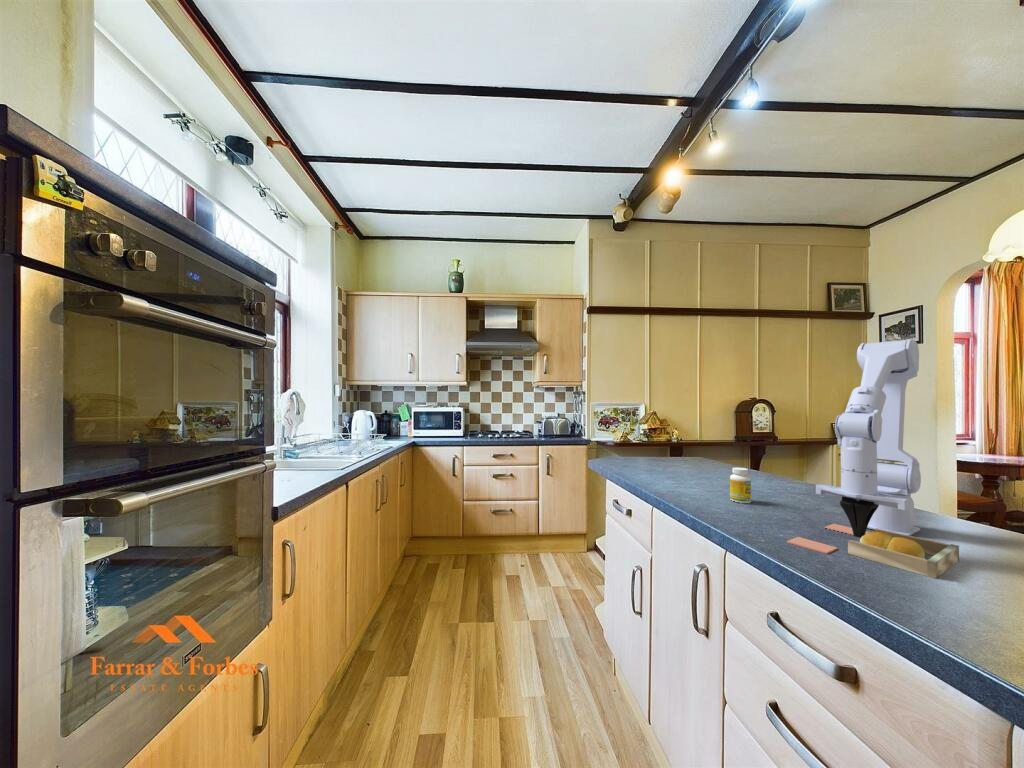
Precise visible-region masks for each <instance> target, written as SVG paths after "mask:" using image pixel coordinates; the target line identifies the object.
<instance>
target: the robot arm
mask: <svg viewBox="0 0 1024 768" xmlns="http://www.w3.org/2000/svg"><path fill="white" fill-rule="evenodd" d="M856 360H857V364H858V365H859V367H860V369H861V371H862V372H863V373H862V376H861V381H860V386H857V387H855V388H853V390H852V391H851V393H850V395H849V399H848V402H847V405H846V407H845V411H844V412H842V414H838V415H837V416H836V418H835V425H834V429H835V435H836V438H837V446H838V447H839V448H840V486H837V485H836V486H835V485H834V486H833V485H827V484H821V483H819V484H816V485H815V494H816V495H826V496H830V497H836V498H840V499H841V501H839V505H840V507H841V508H842V511H843V512H844V513H845V515H846V517H847V519H848V522H849V524H850V528H852V530H853V535H852V536H853V537H855V538H860V539H861V537H862V536H863V535H865V533H866V531H867V530H868V529H869V530H873V531H875V529H876V528H878V529H882V530H886V531H891V532H895V533H900V534H904V535H909V536H912V535H914V534H916V533H917V532H919V531H921V528H920V527H917V526H915V503H914V500H913V497H911V495H913V494H916V493H917V492H919V491H920V489H921V488H920V487H921V483H922V475H921V470H920V462H919V460H918V459H917V458H916V457H915V456H913V455H911V454H910V453H909V452H906V451H905V450H904V435H905V434H904V432H905V431H904V430H905V409H906V407H905V406H906V389H907V385H908V381H909V380H911V379H914V378H916V377H918V372H919V367H920V349H919V345H918V342H917V341H916V340H914V338H913V339H912V338H910V339H909V338H908V339H905V340H904V339H903V340H892V341H881V342H862V343H860V344H859V346H858V347H857V351H856ZM882 461H883V462H882Z"/></svg>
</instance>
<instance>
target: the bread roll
mask: <svg viewBox="0 0 1024 768" xmlns="http://www.w3.org/2000/svg"><path fill="white" fill-rule="evenodd" d="M867 532H868V533H866V534H865V535H863V536H862V537H861V538H860V539H859V542H860V543H864V544H868V545H872V546H876V547H880V548H884V549H887V550H891V551H895V552H899V553H903V554H907V555H911V556H915V557H919V558H923V559H926V558H925V557H926V553H925V552H924V550H923V548H922V547H921V546H920V545H919V544H918V543H916V542H915V541H912V540H909V539H906V538H902V537H894V538H893V537H892V536H890V535H889V534H887V533H884V532H881V531H875V530H870V531H867Z"/></svg>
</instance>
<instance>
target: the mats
mask: <svg viewBox="0 0 1024 768" xmlns="http://www.w3.org/2000/svg"><path fill="white" fill-rule="evenodd" d="M825 528H827V530H829V529H831V530H830V531H833V530H835V531H834V532H837V531H839V532H838V533H841V532H843V533H842V534H845V533H847V534H846V535H850V534H851V535H850V536H854V535H853V530H852V527H851V526H850V527H849V526H845V525H843V524H837V523H832V524H829V525H826V526H824V529H825ZM868 532H869V531H867V530H866V533H868ZM866 533H865V534H866ZM786 543H788V544H791V545H794V546H797V547H801V548H805V549H807V550H811V551H815V552H818V553H821V554H825V555H828V554H831V553H832V552H834V551H837V550H838V547H836V546H833V545H829V544H825V543H821V542H819V541H815V540H810V539H807V538H804V537H800V536H797V537H795V538H792V539H789V540H786Z"/></svg>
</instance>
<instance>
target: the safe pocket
mask: <svg viewBox="0 0 1024 768" xmlns="http://www.w3.org/2000/svg"><path fill="white" fill-rule="evenodd" d="M874 531H881V532H884V533H887V534H889V535H890V536H892V537H893V538H894V537H902V538H906V539H909V540H912V541H915V542H916V543H918V544H919V545H920V546H921V547H922V548H923V550H924V552H925V555H926V554H928V555H931V557H930V558H928V559H926V558H925V559H923V558H919V557H915V556H911V555H907V554H903V553H899V552H895V551H891V550H887V549H884V548H880V547H876V546H872V545H868V544H864V543H860V541H857V540H851V539H848V540H847V554H849V555H852V556H855V557H858V558H863V559H865V560H869V561H873V562H877V563H880V564H884V565H888V566H890V567H894V568H898V569H901V570H905V571H908V572H911V573H916V574H919V575H923V576H926V577H930V578H933V579H937V578H938V577H939V576H941V575H942V574H944V573H945V572H946V571H947V570H949V569H950V568H951V567H952V566H955V564H956V563H958V561H960V545H958V544H953V543H951V544H947V543H943V542H938V541H935V540H931V539H925V538H921V537H916V536H912V535H910V536H909V535H904V534H900V533H895V532H891V531H886V530H882V529H878V528H876V529H875V530H874Z"/></svg>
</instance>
